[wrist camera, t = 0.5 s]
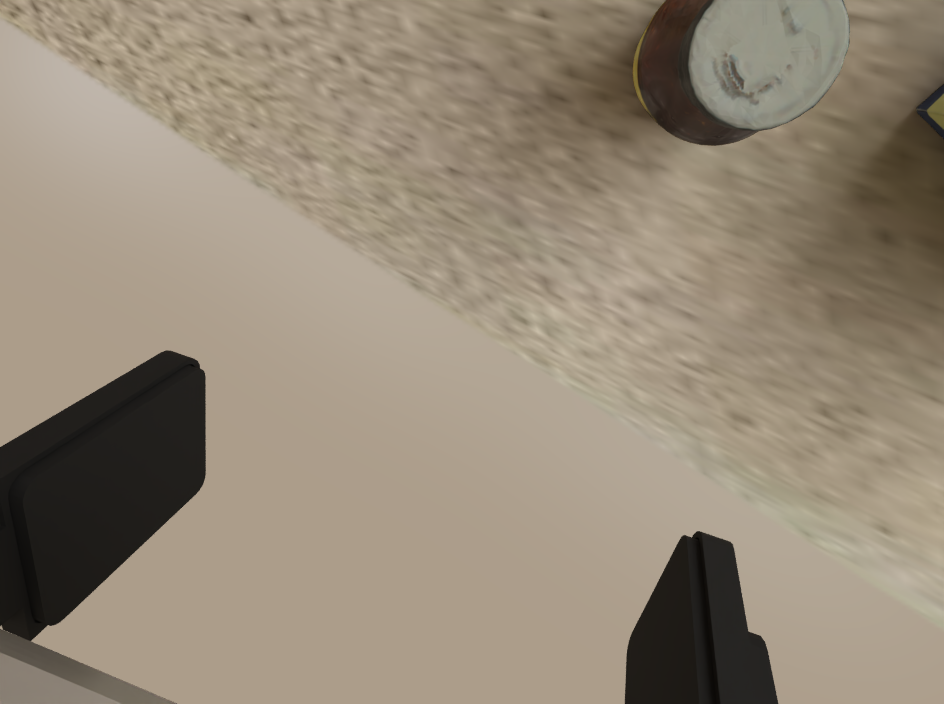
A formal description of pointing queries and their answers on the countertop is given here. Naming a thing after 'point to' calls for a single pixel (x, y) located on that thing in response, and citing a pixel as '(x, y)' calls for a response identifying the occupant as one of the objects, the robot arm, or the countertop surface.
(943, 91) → the protein box
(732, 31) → the sauce bottle
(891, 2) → the countertop surface
